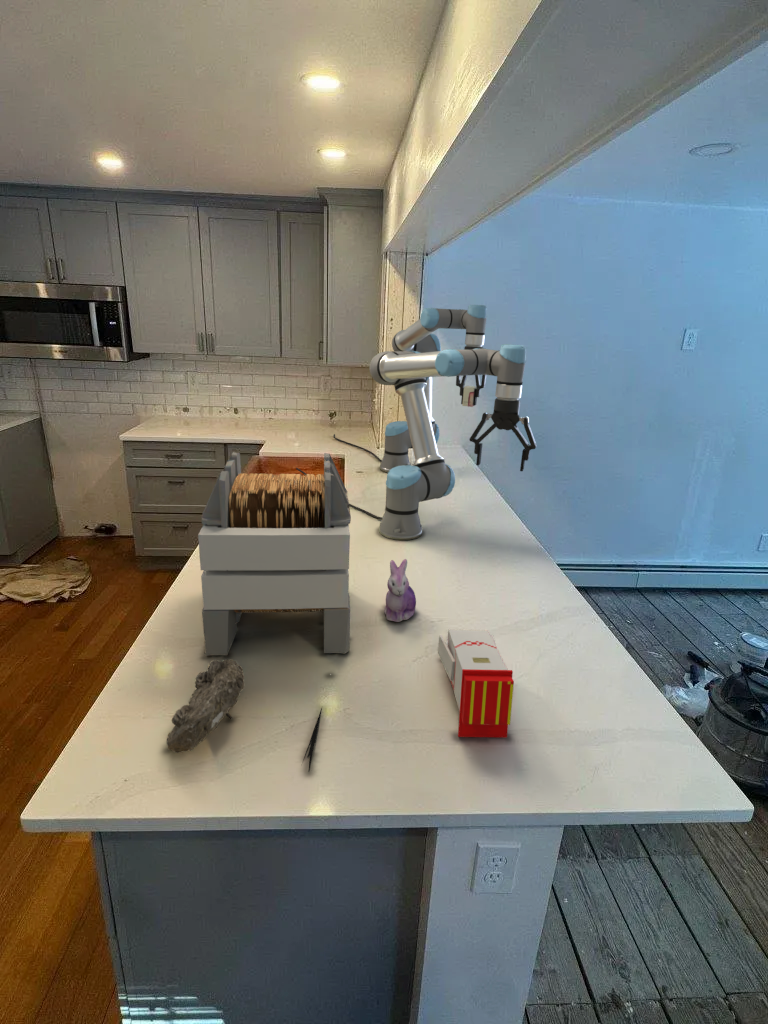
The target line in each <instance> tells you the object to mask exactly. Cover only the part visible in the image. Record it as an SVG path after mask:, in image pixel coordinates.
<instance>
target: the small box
mask: <svg viewBox="0 0 768 1024" xmlns="http://www.w3.org/2000/svg"><path fill="white" fill-rule="evenodd" d="M474 389H476V385H475V386H474V385H464V393H463V404H461V405H462V407H468V408H469V407H470V408H473V407H475V406H474V405H473V400H474Z"/></svg>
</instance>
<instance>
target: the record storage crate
mask: <svg viewBox="0 0 768 1024" xmlns="http://www.w3.org/2000/svg"><path fill="white" fill-rule="evenodd" d="M241 463H242V462H241V453H240V452H235V451H233V452H231V455H230V457H229V459H227V460H226V463H225V466H224V468H223V470H222V471H220V474H219V475H218V477H217V479H216V482H215V483H214V486H213V489H212V491H211V494H210V495H209V498H208V499H207V502H206V505H205V507H204V509H203V511H202V514H201V517H200V520H201V524H202V527H201V529H200V530H199V532H198V535H197V538H198V550H199V552H198V553H199V563H200V565H199V567H200V571H202V573H201V575H200V580H201V581H200V582H201V594H202V605H203V607H202V609H201V610H202V611H201V617H202V629H203V638H204V639H203V640H204V649H205V650H204V651H205V652H204V655H205V656H206V657H212V656H228V654H229V652H230V650H231V647H232V645H233V643H234V640H235V638H236V635H237V632H238V623H240V620H241V617H242V614H244V613H250V614H251V613H253V614H254V613H257V614H258V613H298V612H301V613H302V612H308V613H309V612H322V614H323V654H344V655H346V654H347V653H349V652H350V639H351V604H350V595H349V594H350V593H349V586H350V585H349V584H350V572H349V571H350V570H349V569H350V549H351V548H350V547H351V545H350V542H351V533H350V532H351V531H350V526H349V525H350V524H351V520H352V516H351V515H352V514H351V509H350V506H349V504H350V502H349V496H348V490H347V488H346V486H345V484H344V482H343V480H342V478H341V474H340V473H339V471H338V469H337V466H336V465H335V462H334V460H333V458H332V455H331V454H330V453H326V452H324V453H323V473H322V474H321V473H318V474H316V475H315V474H314V473H306V474H307V475H304V474H303V475H302V474H301V473H280V474H273V473H244V472H243V473H242V466H241Z"/></svg>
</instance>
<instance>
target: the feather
mask: <svg viewBox="0 0 768 1024" xmlns="http://www.w3.org/2000/svg"><path fill="white" fill-rule="evenodd" d="M329 675H330V676H331V675H332V674H331V673H330V674H329ZM322 710H323V707H321V708H320V710H319V713H318V716H317V719H316V723H315V725H314V728H313V731H312V733H311V737H310V739H309V742H308V745H307V748H306V751H305V754H304V757H303V760H302V763H301V767H302V765H303V763H304V761H305V758H308V759H309V760H308V762H307V763H308V764H307V766H308V771H310V770H311V766H312V765H311V764H312V760H313V757H315V756H314V755H315V751H316V749H315V746H317V739H318V733H319V729H320V722H321V717H322V712H323V711H322ZM313 754H314V755H313ZM306 755H307V757H306Z"/></svg>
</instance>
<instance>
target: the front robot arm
mask: <svg viewBox="0 0 768 1024" xmlns="http://www.w3.org/2000/svg"><path fill="white" fill-rule="evenodd" d="M526 362H527V348H526V347H525V345H521V344H507V343H506V344H502V345H501V346H500V348H499V350H496V349H489V348H484V347H483V348H475V349H468V350H464V349H455V348H449V349H448V348H446V349H443V350H442V349H441V351H436V352H426V353H420V352H416V351H394V350H393V351H390V350H388V351H387V350H386V351H382V352H379V353H377V354H375V355H374V356H373V357H372V359H371V361H370V362H369V373H370V377H371V378H372V379H373V380H374V381H375V382H376V383H378V384H380V385H382V386H393V387H394V391H395V394H397V395H399V396H400V397H401V402H402V403H401V404H402V408H403V411H404V415H405V421H407V425H408V429H409V434H410V438H411V443H412V447H413V448H412V451H413V455H414V459H415V460H414V462H413V464H410V465H406V466H405V465H402V466H397V467H394V468H392V469H391V470H389V472H388V473H386V474H387V475H386V479H385V504H384V505H385V507H384V508H385V509H384V513H383V515H382V517H381V516H377V515H375V514H373V513H371V512H369V511H367V510H366V509H363V508H360V507H359V506H356V505H353V504H351V503H349V507H351V508H353V509H355V510H357V511H360V512H362V513H364V514H367V515H369V516H370V517H373V518H375V519H377V520H381V522H379V527H378V533H379V534H380V535H381V536H382V537H385V538H387V539H389V540H395V541H410V540H415V539H418V538H420V537H421V536H422V535H423V525H422V524H421V518H420V515H419V507H420V506H419V505H420V503H421V502H426V501H427V502H428V501H430V500H431V501H432V500H438V499H441V498H444V497H446V496H448V495H450V494H452V492H453V489H454V488H455V485H456V473H455V471H454V469H453V468H451V466H450V465H449V464H447V463H446V461H445V458H444V457H443V456H441V455H440V454H439V450H438V445H437V443H436V441H435V436H434V432H433V428H432V423H431V419H430V414H429V410H428V406H427V401H426V397H425V393H424V389H425V388H426V386H427V382H426V381H427V380H428V379H429V377H432V378H438V377H439V378H441V377H442V378H443V377H447V378H449V377H456V376H462V377H463V376H464V375H468V376H475V375H479V376H482V375H486V376H493V377H496V385H495V395H494V396H495V397H496V398H495V399H494V403H493V412H492V413H488V412H487V411H484V412H483V413H482V415H481V420H480V421H479V423H478V424H477V426H476V428H475V429H474V431H473V433H472V434H471V435H470V437H469V441H470V442H471V443H474V451H473V453H474V455H476V463H475V466H480V465H481V463H482V462H481V461H482V454H483V453H482V452H483V443H481V442H482V441H483V440H484V439H486V437H487V436H489V434H491V433H492V432H493V431H494V430H495V429H498V430H502V431H503V430H504V431H512V433H514V435H515V436H516V438H517V439H518V441H519V443H520V444H521V445H522V446H523V449H522V451H521V452H522V453H521V460H520V466H519V467H520V468H519V469H520V470H519V472H524V469H525V462H528V461H529V459H530V452H531V450H535V449H536V448H537V446H538V445H537V442H536V439H535V436H534V433H533V431H532V428H531V425H530V417H529V416H528V415H527V416H520V408H521V400H520V399H521V398H522V392H523V391H522V390H523V383H524V382H523V379H524V375H525V374H524V373H525V368H526ZM490 419H491V420H492V423H493V424H491V426H489V427H488V428H487V429H486V430H485V431H484V432H483V433H482V434H481V435H480V436H479V437H478V438H477V436H478V435H479V433H480V432H481V430H482V429H483V427H484V425H485V424H486V423H487V421H490ZM519 422H520V423H521V425H523V428H524V430H525V434H526V436H527V438H528V440H527V439H526V437H525V436H524V435H523V433H522V431H521V430H520V428H519V426H518V425H517V424H518V423H519ZM528 441H529V442H528ZM295 470H297V471H298V472H300V474H301V473H302V475H303V476H304V475H305V476H306V475H307V474H308V473H306V472H304V471H303V470H302V469H300V468H299V467H296V468H295Z"/></svg>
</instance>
